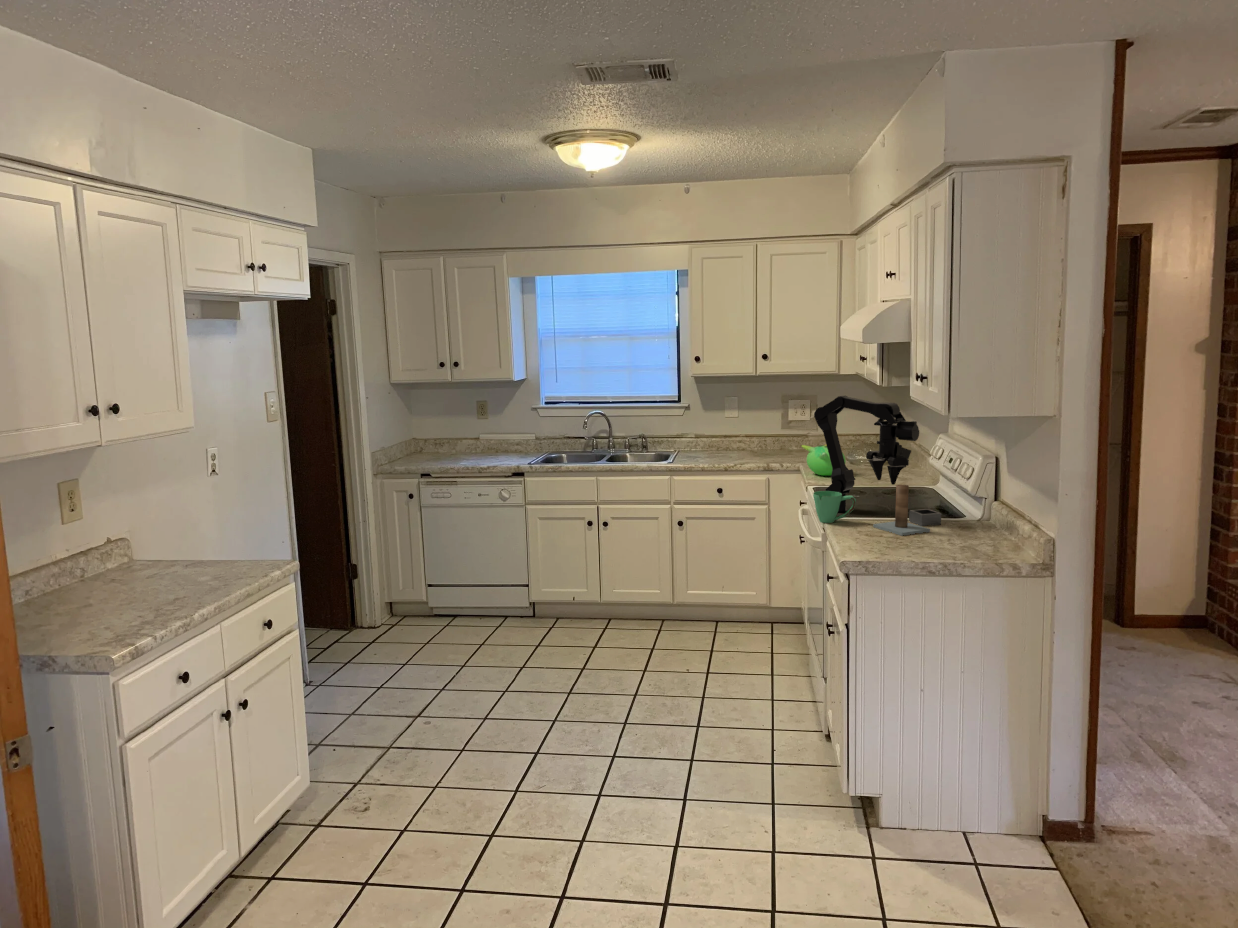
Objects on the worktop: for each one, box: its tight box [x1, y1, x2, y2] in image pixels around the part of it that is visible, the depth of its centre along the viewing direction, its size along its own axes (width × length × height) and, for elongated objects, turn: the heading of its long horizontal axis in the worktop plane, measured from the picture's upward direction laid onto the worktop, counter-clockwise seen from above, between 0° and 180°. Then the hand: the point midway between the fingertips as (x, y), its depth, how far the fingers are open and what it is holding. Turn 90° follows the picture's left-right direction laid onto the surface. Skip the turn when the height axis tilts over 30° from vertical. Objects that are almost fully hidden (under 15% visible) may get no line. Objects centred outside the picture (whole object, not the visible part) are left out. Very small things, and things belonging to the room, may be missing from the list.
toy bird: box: [801, 444, 846, 477], centre depth 401 cm, size 18×17×15 cm
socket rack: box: [908, 508, 942, 527], centre depth 306 cm, size 8×8×4 cm
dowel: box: [894, 484, 910, 528], centre depth 297 cm, size 4×4×14 cm
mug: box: [812, 490, 857, 524], centre depth 309 cm, size 15×10×10 cm
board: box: [872, 520, 931, 537], centre depth 298 cm, size 14×12×1 cm
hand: (886, 482), depth 313 cm, fingers open, 9 cm apart
